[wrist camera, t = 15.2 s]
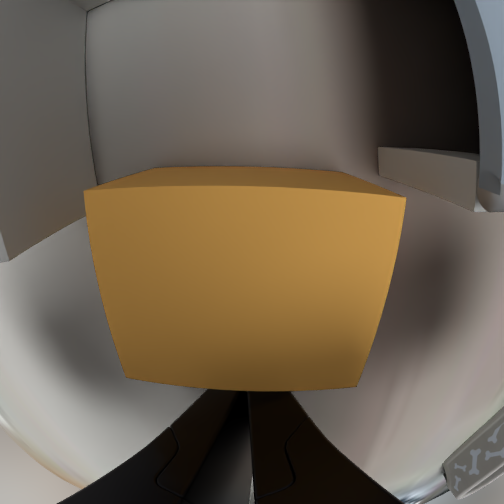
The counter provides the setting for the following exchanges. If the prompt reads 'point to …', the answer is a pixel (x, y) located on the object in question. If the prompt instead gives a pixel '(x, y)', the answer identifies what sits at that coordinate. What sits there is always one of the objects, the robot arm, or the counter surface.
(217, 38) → the counter surface
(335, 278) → the mustard yellow box
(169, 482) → the robot arm
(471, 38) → the panel
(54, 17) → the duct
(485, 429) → the dog bowl
